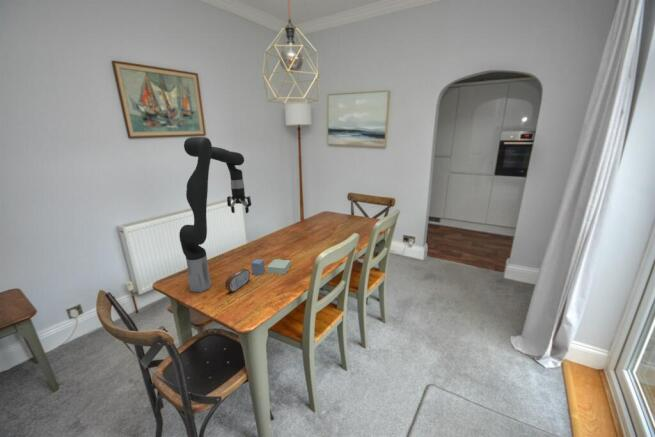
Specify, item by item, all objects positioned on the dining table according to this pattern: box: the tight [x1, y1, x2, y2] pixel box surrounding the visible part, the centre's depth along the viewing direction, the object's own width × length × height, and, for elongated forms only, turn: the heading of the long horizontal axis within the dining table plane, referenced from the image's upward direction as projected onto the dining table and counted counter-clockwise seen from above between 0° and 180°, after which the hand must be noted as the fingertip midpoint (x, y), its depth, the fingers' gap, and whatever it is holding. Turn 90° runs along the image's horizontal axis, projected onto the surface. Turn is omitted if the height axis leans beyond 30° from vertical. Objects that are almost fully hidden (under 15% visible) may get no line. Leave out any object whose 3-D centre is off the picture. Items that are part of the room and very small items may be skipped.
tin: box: [224, 268, 251, 292], centre depth 142 cm, size 15×3×8 cm, turn 154°
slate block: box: [251, 258, 266, 276], centre depth 157 cm, size 5×5×7 cm
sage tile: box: [266, 258, 292, 275], centre depth 161 cm, size 10×10×4 cm
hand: (240, 212), depth 175 cm, fingers open, 8 cm apart
